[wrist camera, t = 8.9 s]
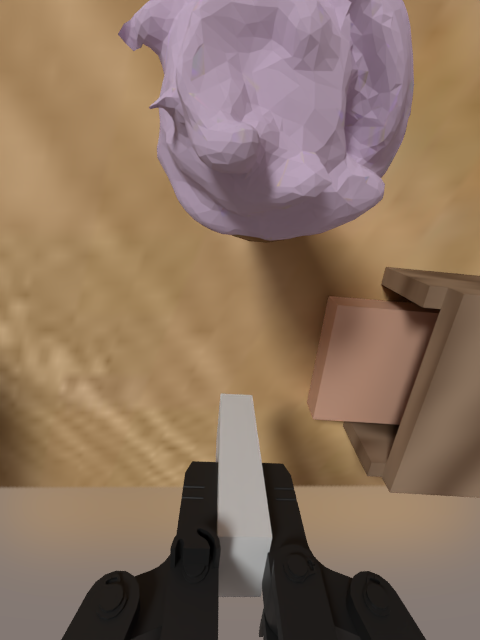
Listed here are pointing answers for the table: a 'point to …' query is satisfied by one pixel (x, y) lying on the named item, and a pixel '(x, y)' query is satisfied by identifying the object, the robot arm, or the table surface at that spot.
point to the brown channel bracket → (433, 396)
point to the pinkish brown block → (368, 359)
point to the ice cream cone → (278, 108)
